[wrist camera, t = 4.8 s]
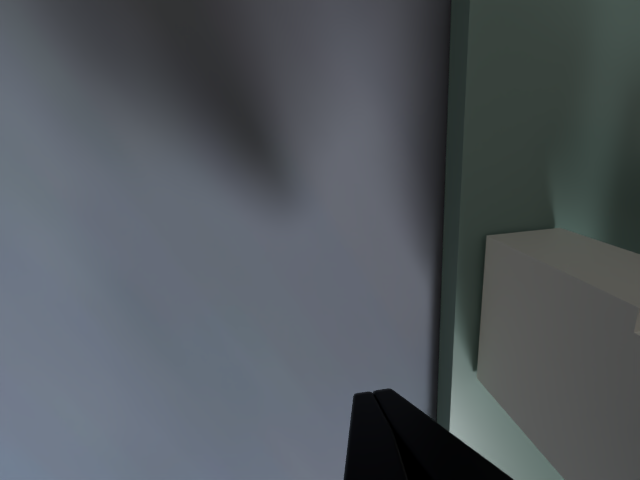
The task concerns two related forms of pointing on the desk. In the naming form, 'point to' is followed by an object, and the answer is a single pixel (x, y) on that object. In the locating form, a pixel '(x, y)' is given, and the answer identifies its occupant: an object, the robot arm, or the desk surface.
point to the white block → (565, 348)
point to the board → (530, 171)
